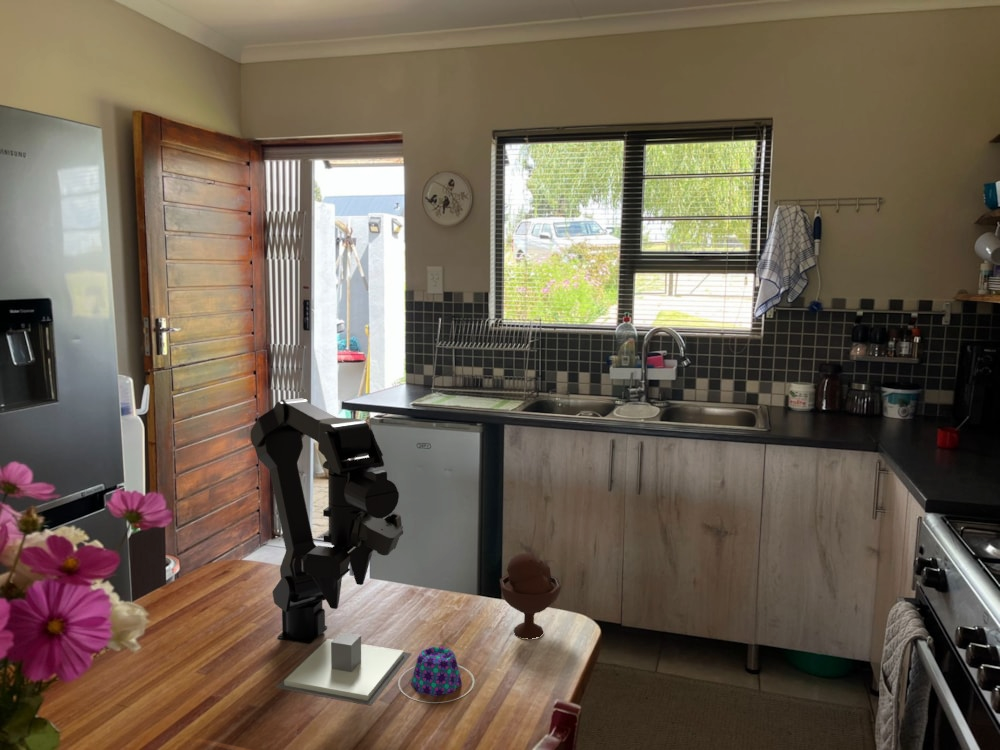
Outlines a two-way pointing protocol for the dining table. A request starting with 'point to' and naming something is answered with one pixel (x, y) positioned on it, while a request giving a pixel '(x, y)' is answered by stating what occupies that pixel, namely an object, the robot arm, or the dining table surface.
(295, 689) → the mat
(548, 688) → the dining table surface
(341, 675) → the lid
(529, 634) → the ice cream bowl
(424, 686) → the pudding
